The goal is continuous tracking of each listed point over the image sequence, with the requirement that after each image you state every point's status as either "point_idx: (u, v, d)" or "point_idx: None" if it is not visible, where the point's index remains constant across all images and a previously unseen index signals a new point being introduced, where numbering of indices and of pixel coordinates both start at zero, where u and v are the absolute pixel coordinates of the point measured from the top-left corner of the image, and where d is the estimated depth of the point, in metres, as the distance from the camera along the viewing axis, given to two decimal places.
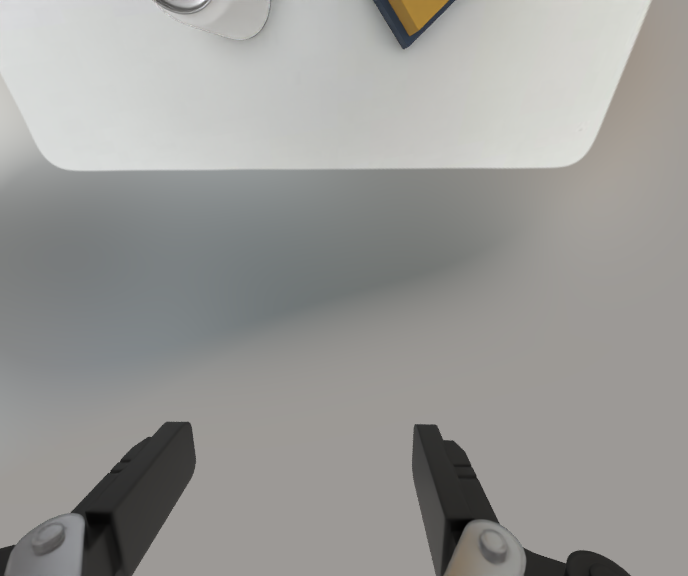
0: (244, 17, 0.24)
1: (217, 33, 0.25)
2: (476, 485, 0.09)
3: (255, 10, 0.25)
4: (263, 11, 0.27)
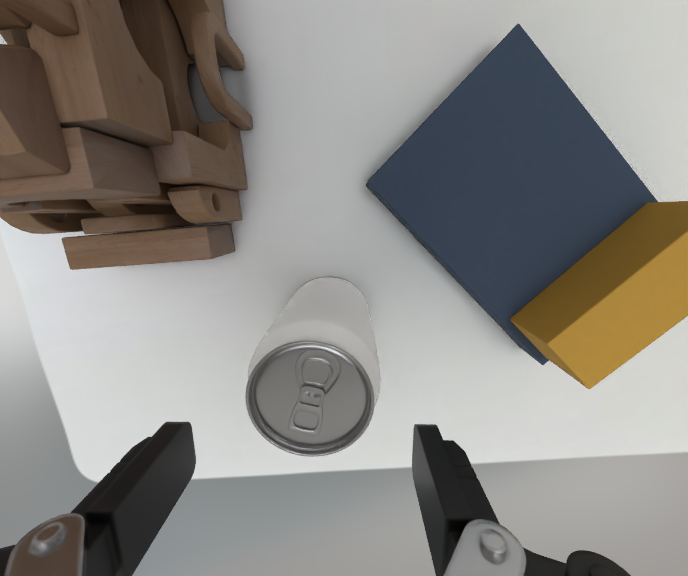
0: None
1: None
2: (476, 485, 0.09)
3: None
4: None
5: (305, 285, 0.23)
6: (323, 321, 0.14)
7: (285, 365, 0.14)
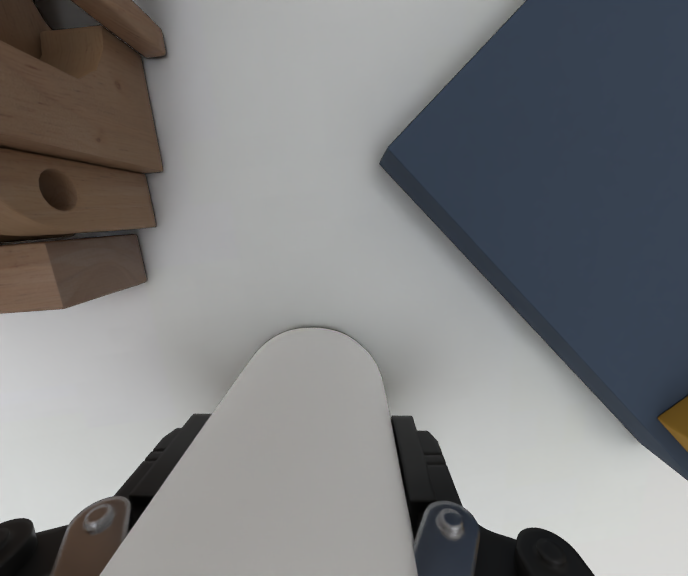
0: None
1: None
2: (444, 471, 0.09)
3: None
4: None
5: (268, 347, 0.13)
6: None
7: None
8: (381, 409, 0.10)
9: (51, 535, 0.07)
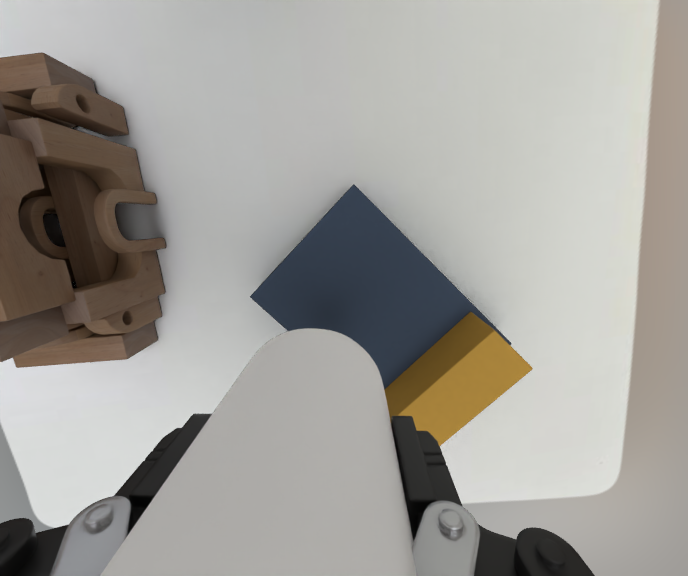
0: None
1: None
2: (444, 471, 0.09)
3: None
4: None
5: (268, 348, 0.13)
6: None
7: None
8: (380, 410, 0.10)
9: (50, 536, 0.07)
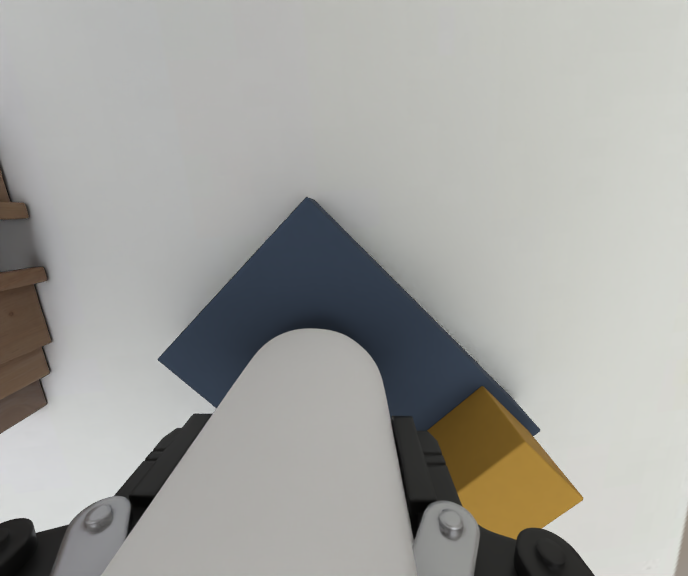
0: None
1: None
2: (444, 471, 0.09)
3: None
4: None
5: (268, 348, 0.13)
6: None
7: None
8: (381, 410, 0.10)
9: (51, 535, 0.07)
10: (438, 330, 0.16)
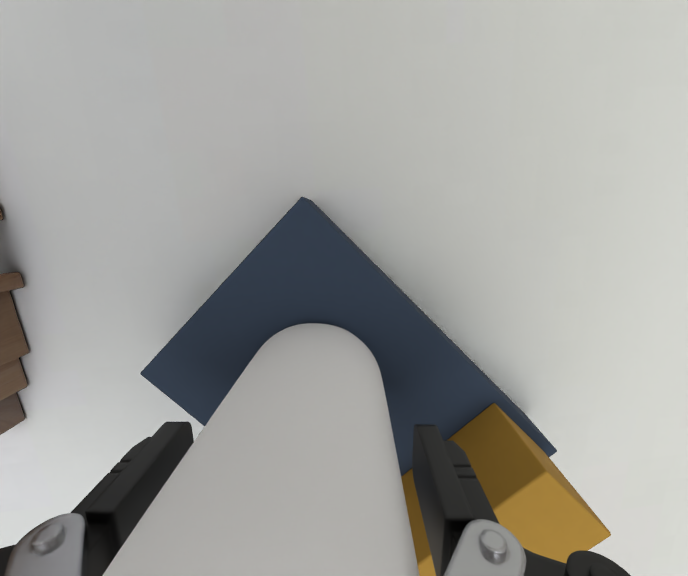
0: None
1: None
2: (476, 485, 0.09)
3: None
4: None
5: (273, 341, 0.13)
6: (269, 548, 0.05)
7: None
8: (378, 397, 0.11)
9: None
10: (446, 342, 0.15)
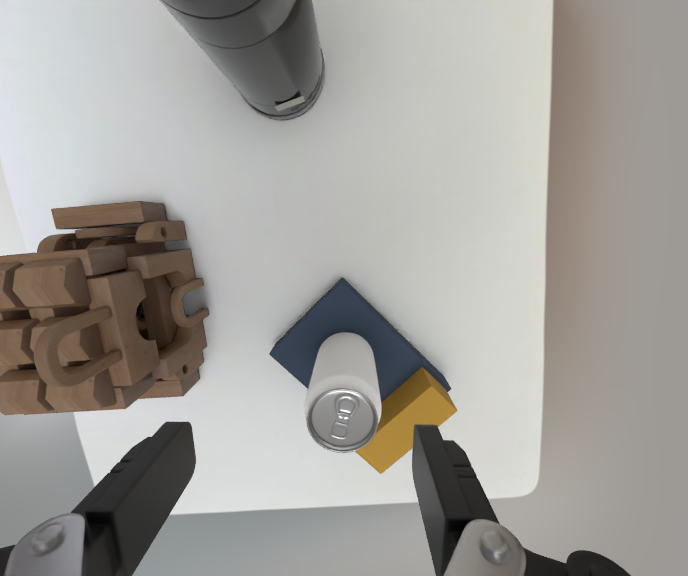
0: None
1: None
2: (476, 485, 0.09)
3: None
4: None
5: (330, 339, 0.34)
6: (349, 375, 0.25)
7: (329, 401, 0.25)
8: (371, 358, 0.32)
9: None
10: (400, 340, 0.36)
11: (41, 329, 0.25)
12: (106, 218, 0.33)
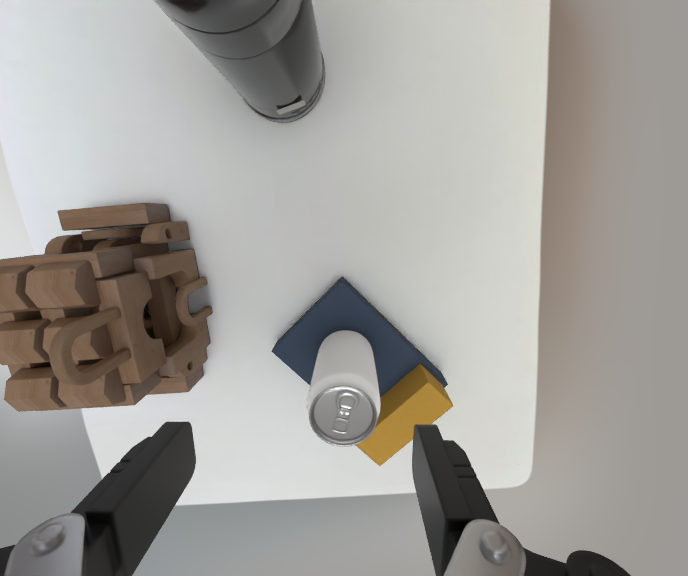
0: None
1: None
2: (476, 485, 0.09)
3: None
4: None
5: (331, 337, 0.35)
6: (349, 373, 0.27)
7: (330, 397, 0.26)
8: (370, 356, 0.33)
9: None
10: (399, 338, 0.37)
11: (53, 329, 0.26)
12: (111, 220, 0.33)
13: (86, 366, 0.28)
